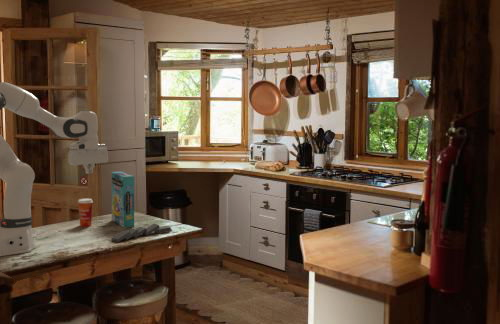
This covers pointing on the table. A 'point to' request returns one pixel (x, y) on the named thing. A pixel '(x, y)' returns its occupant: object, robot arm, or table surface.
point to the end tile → (164, 231)
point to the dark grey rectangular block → (121, 236)
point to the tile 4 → (151, 229)
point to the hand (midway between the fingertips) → (89, 173)
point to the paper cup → (85, 212)
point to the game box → (123, 199)
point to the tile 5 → (163, 229)
